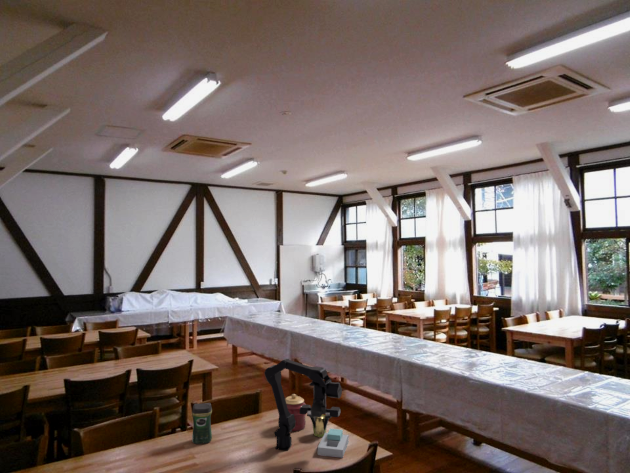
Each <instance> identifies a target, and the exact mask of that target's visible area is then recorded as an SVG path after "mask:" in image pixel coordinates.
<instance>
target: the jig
mask: <svg viewBox="0 0 630 473" xmlns="http://www.w3.org/2000/svg"><path fill="white" fill-rule="evenodd" d="M327 434H328V432H326V433H325V434H324V436H323V437H321V439H320V442H319V444H318V445H317V455H318V456H322V457H323V456H324V457H333V458H343V459H344V456H345V453H346V450H347V448H348V445H349V439H350V438H349V434H344V433H343V435H342V438H341V440H340V441H339V440H330V439H327Z"/></svg>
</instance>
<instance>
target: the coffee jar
mask: <svg viewBox="0 0 630 473" xmlns="http://www.w3.org/2000/svg"><path fill="white" fill-rule="evenodd" d="M212 413H213V408H212V404H211V402H206V403H205V402H204V403H194V404H193V406H192V413H191V414H192V417H193V420H192V421H193V424H192V425H193V426H192V433H191V434H192V435H191V437H192V438H191V442H192V444H195V445H201V444H202V443H203V444H209V443H210V442H211V441H212V439H213V433H212V432H213V431H212V425H211V424H212V423H211V415H212Z"/></svg>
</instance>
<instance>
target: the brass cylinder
mask: <svg viewBox="0 0 630 473" xmlns="http://www.w3.org/2000/svg"><path fill="white" fill-rule="evenodd" d="M324 424H325V417H324V416H321V417H315V433H316V434H324V433H325V430H324Z"/></svg>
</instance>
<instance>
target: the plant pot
mask: <svg viewBox="0 0 630 473" xmlns="http://www.w3.org/2000/svg"><path fill="white" fill-rule="evenodd" d="M325 415H326V414H322V416H324V417H325ZM311 424H312V431H313V436H315V437H318V438H323V436H324V434H325V433H327V428H326V429H325V433H324V434H316V433H315V429H314V426H313V423H312V422H311Z"/></svg>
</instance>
